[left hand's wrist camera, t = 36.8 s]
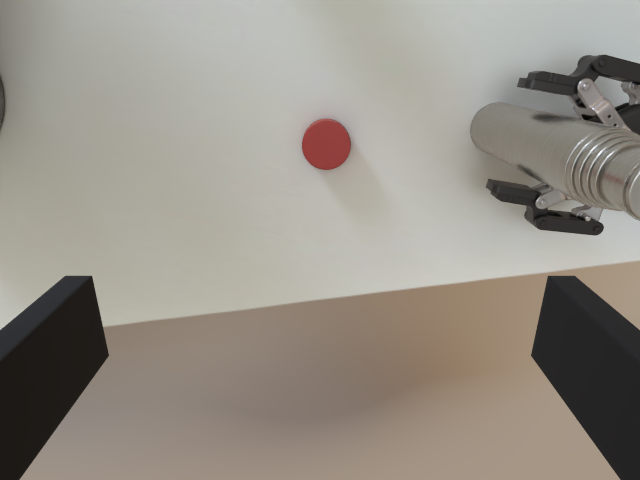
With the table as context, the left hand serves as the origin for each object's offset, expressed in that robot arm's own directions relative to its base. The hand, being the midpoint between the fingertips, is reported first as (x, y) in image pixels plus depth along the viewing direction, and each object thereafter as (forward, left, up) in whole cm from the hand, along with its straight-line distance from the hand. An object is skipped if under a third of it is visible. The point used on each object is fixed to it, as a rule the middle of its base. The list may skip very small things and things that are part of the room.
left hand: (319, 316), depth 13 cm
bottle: (+13, -11, -33) cm, 37 cm away
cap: (0, 0, -31) cm, 31 cm away
